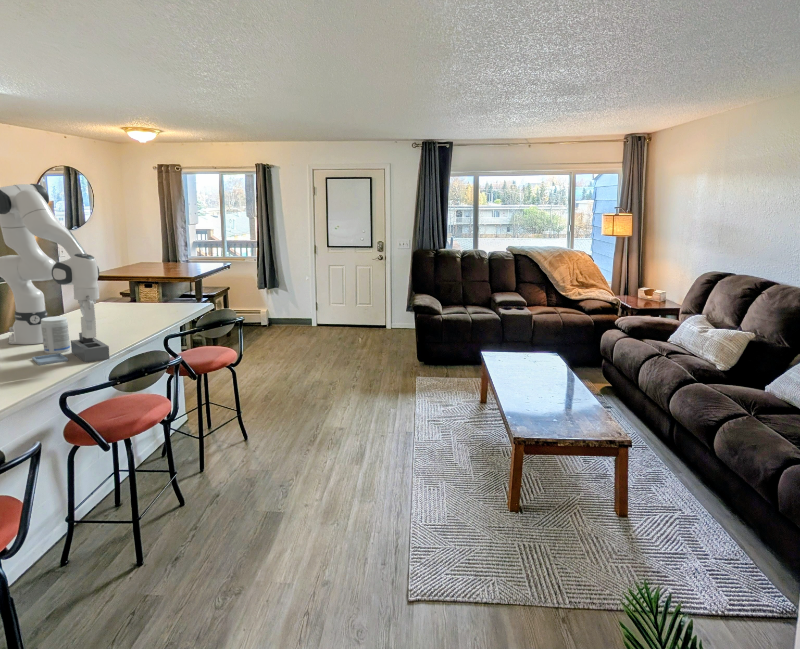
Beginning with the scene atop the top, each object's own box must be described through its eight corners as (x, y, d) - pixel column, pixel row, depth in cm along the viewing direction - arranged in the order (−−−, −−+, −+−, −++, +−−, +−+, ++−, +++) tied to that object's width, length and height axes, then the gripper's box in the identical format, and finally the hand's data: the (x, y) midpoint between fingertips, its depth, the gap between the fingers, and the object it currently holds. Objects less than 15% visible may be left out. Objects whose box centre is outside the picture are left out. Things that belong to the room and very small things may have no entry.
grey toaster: (71, 354, 227) (69, 331, 225) (95, 350, 233) (93, 329, 231) (85, 363, 215) (83, 340, 213) (109, 360, 221) (108, 337, 219)
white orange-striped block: (81, 336, 218) (80, 316, 217) (91, 335, 221) (90, 315, 219) (86, 338, 215) (85, 318, 213) (96, 337, 218) (95, 317, 216)
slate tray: (32, 360, 215) (32, 357, 215) (60, 356, 222) (60, 353, 222) (39, 366, 209) (38, 362, 208) (68, 362, 216) (67, 358, 215)
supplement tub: (73, 348, 235) (71, 316, 232) (65, 354, 226) (62, 320, 223) (49, 349, 233) (46, 316, 230) (39, 354, 224) (36, 320, 221)
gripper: (98, 297, 208) (100, 332, 211) (93, 291, 225) (95, 323, 227) (79, 298, 205) (81, 333, 207) (75, 291, 221) (78, 324, 224)
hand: (88, 328), depth 217 cm, fingers closed on white orange-striped block, 6 cm apart
